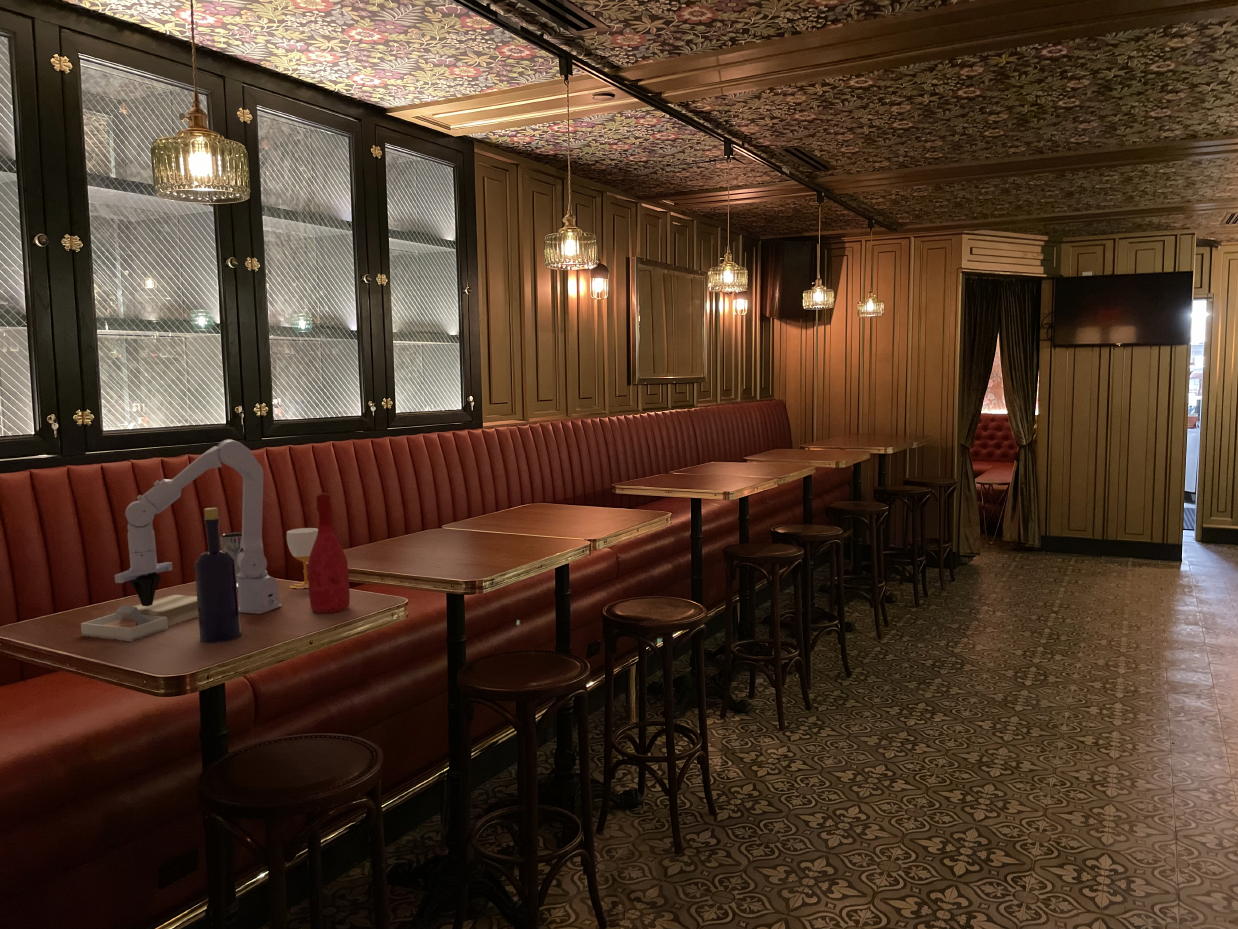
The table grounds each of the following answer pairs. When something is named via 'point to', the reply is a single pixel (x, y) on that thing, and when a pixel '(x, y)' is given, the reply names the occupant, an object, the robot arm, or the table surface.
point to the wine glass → (232, 545)
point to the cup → (301, 547)
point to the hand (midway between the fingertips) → (147, 605)
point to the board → (172, 608)
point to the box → (123, 628)
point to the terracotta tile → (123, 623)
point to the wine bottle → (327, 566)
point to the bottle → (216, 588)
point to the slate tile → (130, 614)
